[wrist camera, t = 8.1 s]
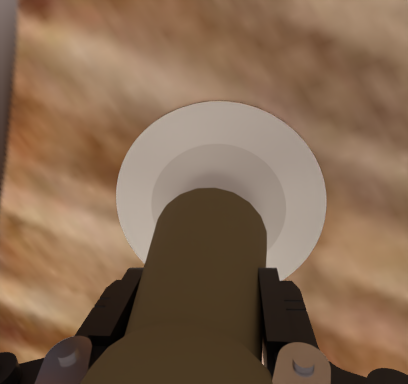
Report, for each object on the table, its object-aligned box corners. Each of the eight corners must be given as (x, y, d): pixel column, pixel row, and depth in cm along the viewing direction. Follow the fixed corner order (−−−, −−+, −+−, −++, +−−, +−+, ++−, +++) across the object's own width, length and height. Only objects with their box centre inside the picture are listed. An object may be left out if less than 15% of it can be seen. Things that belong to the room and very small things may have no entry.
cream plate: (329, 91, 17) (334, 91, 16) (316, 289, 21) (320, 298, 20) (104, 109, 19) (97, 110, 18) (137, 287, 23) (133, 296, 22)
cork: (140, 199, 15) (-76, 449, 4) (256, 176, 14) (322, 434, 3) (171, 293, 17) (68, 624, 6) (275, 280, 16) (355, 649, 5)
